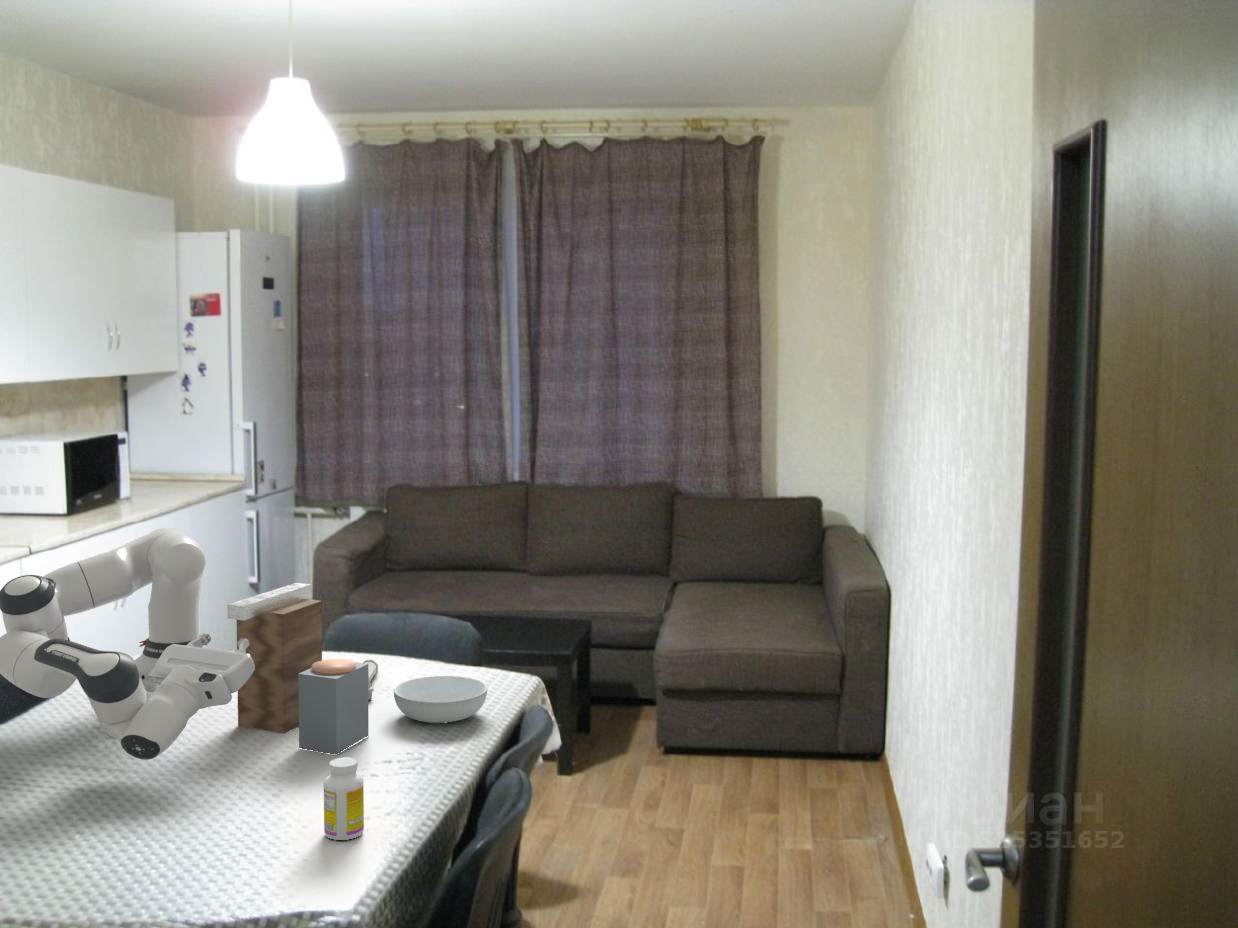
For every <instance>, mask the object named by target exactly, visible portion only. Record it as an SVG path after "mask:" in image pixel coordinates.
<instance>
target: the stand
mask: <svg viewBox="0 0 1238 928" xmlns="http://www.w3.org/2000/svg"><path fill="white" fill-rule="evenodd" d="M322 604H323V603H322V600H317V599H310V598H308V599H305V600H302V601H299V602H297V603H294V604H291V605H288V606H285V607H282V608H279V609H276V610H273V611H270V612H267V613H264V614H261V615H259V616H256V617H253V618H250V619H247V620H244V621H243V620H236V643H237V642H238V641H239V639H240V638H244V639H248V641H249V646H248V648H247V649H246V654H250V655H251V657H252V659H253V662H254V664H255V670H254V672H253V674H252V675H251V676H250V678H249V679H248V680H247V681H246V683H245V684H244V685H243V686H242V687H241V688H240V689H239V690H238V691H237V726H238V727H243V728H248V729H254V730H260V731H267V732H273V733H280V734H288V732H291V731H293V730H294V728H295V729H296V727H297V728H299V727H298V726H299V685H298V674H299V673H301V672H303V671H306V670H308V669H310V668H312V664H314V663H315V662H318V661H322V660H323V614H322V613H323V610H322V608H323V607H322V606H323V605H322ZM238 647H239V646H238V645H237V644H236V650H239V648H238ZM292 729H293V730H292ZM290 730H291V731H290Z"/></svg>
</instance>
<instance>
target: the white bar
mask: <svg viewBox="0 0 1238 928" xmlns="http://www.w3.org/2000/svg"><path fill="white" fill-rule="evenodd" d="M312 585H313V584H311V583H305V582H295V583H292V584H288V585H284V586H281V587H278V588H275V589H271V590H270V591H266V592H263V593H259V594H256V595H254V596H249V597H247V598H243V599H240V600H237V601H233V602H231V603H227V604H226V605H227V608H226V609H227V619H229V620H234V621H235V620H236V621H237V620H243V621H244V620H247V619H250V618H253V617H256V616H259V615H261V614H264V613H267V612H270V611H273V610H276V609H279V608H282V607H285V606H288V605H291V604H294V603H297V602H299V601H302V600H305V599H310V598H312V597H313V596H312V594H313V593H312V592H313V590H312Z"/></svg>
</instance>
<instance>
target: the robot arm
mask: <svg viewBox="0 0 1238 928" xmlns="http://www.w3.org/2000/svg"><path fill="white" fill-rule="evenodd" d="M205 568H206V556H205V553H204V550H203V548H202V546H201V545H200V544H199V543H198V542H197V541H196V540H195V539H194V538H191V537H190V536H189V535H187V534H185V533H183V532H182V531H180V530H178V529H176V528H171V527H164V528H158V529H155V530H153V531H151V532H149V533H147V534H144V535H142V536H139V537H137V538H136V539H133V540H131V541H129V542H127V543H125V544H123V545H121V546H119V547H117V548H113V549H111V550H109V551H105V552H103V553H100V554H97V555H93V556H91V557H87V558H84V559H81V560H79V561H78V560H77V561H75V562H73V563H69V564H67V565H64V566H62V567H59V568H57V569H54V570H52V571H51V572H48V573H47V574H45V575H43V576H41V575H36V574H25V575H21V576H18V577H15V578H12V579H11V580H9V581H7V582H6V583H5V584H4V585H3V587H2V588H1V589H0V611H1V616H2V620H3V624H4V625H3V626H4V629H5V631H6V633H4V634H3V635H1V636H0V675H1V676H2V677H3V678H5V680H7V681H8V682H10V683H12V684H13V685H14V686H16V687H17V688H19V689H21V690H23V691H24V692H26V693H28V694H31V695H32V696H36V697H39V698H44V699H50V698H53V697H57V696H59V695H61V694H64V693H65V692H67V690H69V689H70V688H71V687H72V686H73V684H75V682H76V680H77V681H78V683H79V685H80V687H81V689H82V691H83V692H84V694H85V695H86V697H87V700H88V701H89V703H90V705H91V707H92V709H93V711H94V713H95V715H96V717H97V720H98V722H99V724H100V726H101V727H102V729H103V731H104V732H105V734H106V735H107V736H108V737H110V738H111V739H113V740H116V741H118V742H119V743H120V746H121V748H122V749H123V750H124V752H125V753H127V754H128V755H129V756H131V757H133V758H135V759H139V760H145V761H147V760H149V761H150V760H152V759H155V758H157V757H158V756H160V755H161V754H163V753H164V752H166V750H168V748H170V746H171V745H172V744H173V743H174V742H175V741H176V740H177V738H178V737H179V736H180V735H181V733H182V732H183V731H184V730H185V728H186V726H187V723H188V721H189V720H190V719H191V718H192V717H193V716H195V715H196V714H197V713H198V711H199V710H203V709H206V708H211V707H217V706H223V705H228V704H229V703H230V702H231V701H232V699H233V695H232V694H235V693H236V692H238V690H239V689H240V688H241V687H242V686H243V685H244V684H245V683H246V681H247V680H248V679H249V678H250V676H251V675H252V674H253V672H254V670H255V664H254V662H253V659H252V657H251V655H250V654H246V649H247V648H248V646H249V641H248V639H244V638H240V639H239V641H238V642H237V641H236V646H237V645H238V646H239V647H238V648H239V650H237V649H235V650H234V651H231V650H223V649H214V648H208V647H203V646H207V645H209V643H210V642H211V641H212V638H211V635H210V634H209V633H205V632H204V633H201V634H200V599H201V598H200V597H201V592H202V585H203V577H204V571H205ZM150 584H151V591H150V599H149V603H148V605H147V608H148V617H147V618H148V638H146V639H145V640H142V641H139V642H138V643H139V644H140V645H139V646H138V647H140V648H141V647H144V648H143V651H142V654H140V655H139V656H138V657H137V658H136V659H134V658H133V656H131V655H129V654H127V653H124V652H121V651H110V650H100V649H96V648H92V647H90V646H87V645H84V644H81V643H79V642H76V641H75V642H74V641H71V640H70V637H69V636H68V635H69V634H68V628H67V625H66V624H67V623H66V621H65V617H68V616H72V615H75V614H81V613H83V612H87V611H91V610H94V609H97V608H99V607H102V606H106V605H107V604H111V603H113V602H116V601H119V600H122V599H125V598H128V597H130V596H132V595H133V594H134V593H135V592H137V591H139V590H140V589H142V588H144V587H146V586H148V585H150Z"/></svg>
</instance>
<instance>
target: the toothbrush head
mask: <svg viewBox="0 0 1238 928" xmlns="http://www.w3.org/2000/svg"><path fill="white" fill-rule="evenodd" d="M362 663H365V664H368V701H370V700H369V699H373V692H374V691H375V690H374V687H373V686H372V685H371V681H372V680H373V678H374V677H375V676H376V675H377V674H378V673H379V664H378V663H377V662H376V661H375V660H374V659H365V660H364V661H363V662H362ZM374 675H375V676H374ZM373 676H374V677H373Z"/></svg>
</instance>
